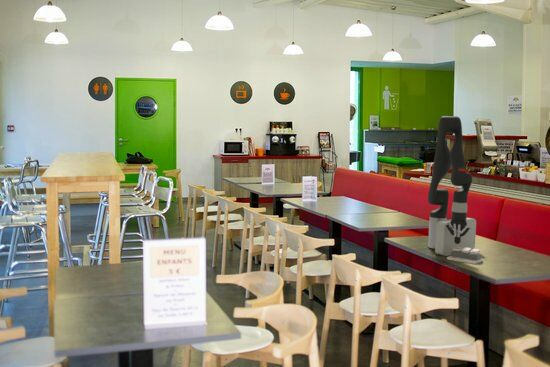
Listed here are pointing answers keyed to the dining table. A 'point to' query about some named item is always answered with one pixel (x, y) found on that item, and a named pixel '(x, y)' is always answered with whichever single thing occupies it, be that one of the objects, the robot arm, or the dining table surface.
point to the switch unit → (465, 257)
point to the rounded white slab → (453, 237)
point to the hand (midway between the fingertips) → (457, 243)
